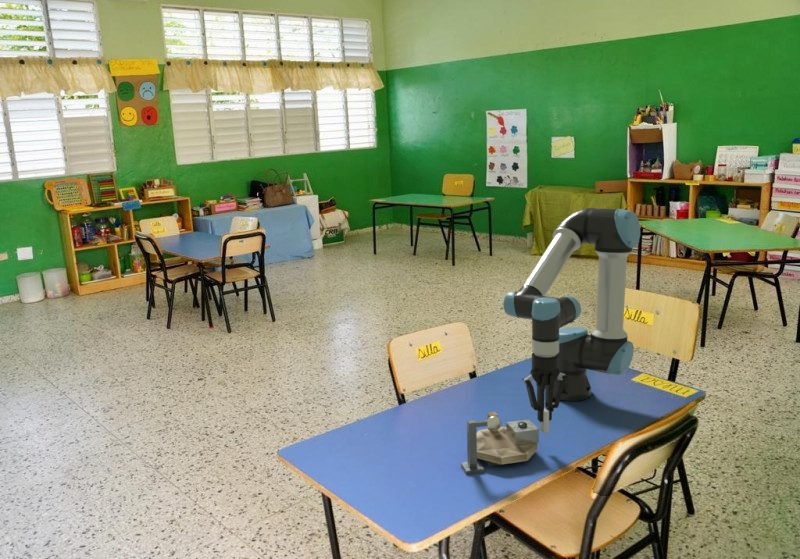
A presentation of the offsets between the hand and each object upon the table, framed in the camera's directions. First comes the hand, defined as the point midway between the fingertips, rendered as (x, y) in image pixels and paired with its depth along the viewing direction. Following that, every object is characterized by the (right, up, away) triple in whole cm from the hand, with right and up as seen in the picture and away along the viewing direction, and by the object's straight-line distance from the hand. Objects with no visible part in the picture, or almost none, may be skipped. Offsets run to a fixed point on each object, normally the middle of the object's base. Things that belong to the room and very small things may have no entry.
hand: (544, 431), depth 193 cm
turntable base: (-12, -6, -1) cm, 14 cm away
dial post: (-19, -8, -9) cm, 22 cm away
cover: (-7, -2, -1) cm, 7 cm away
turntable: (-12, -4, -2) cm, 13 cm away
